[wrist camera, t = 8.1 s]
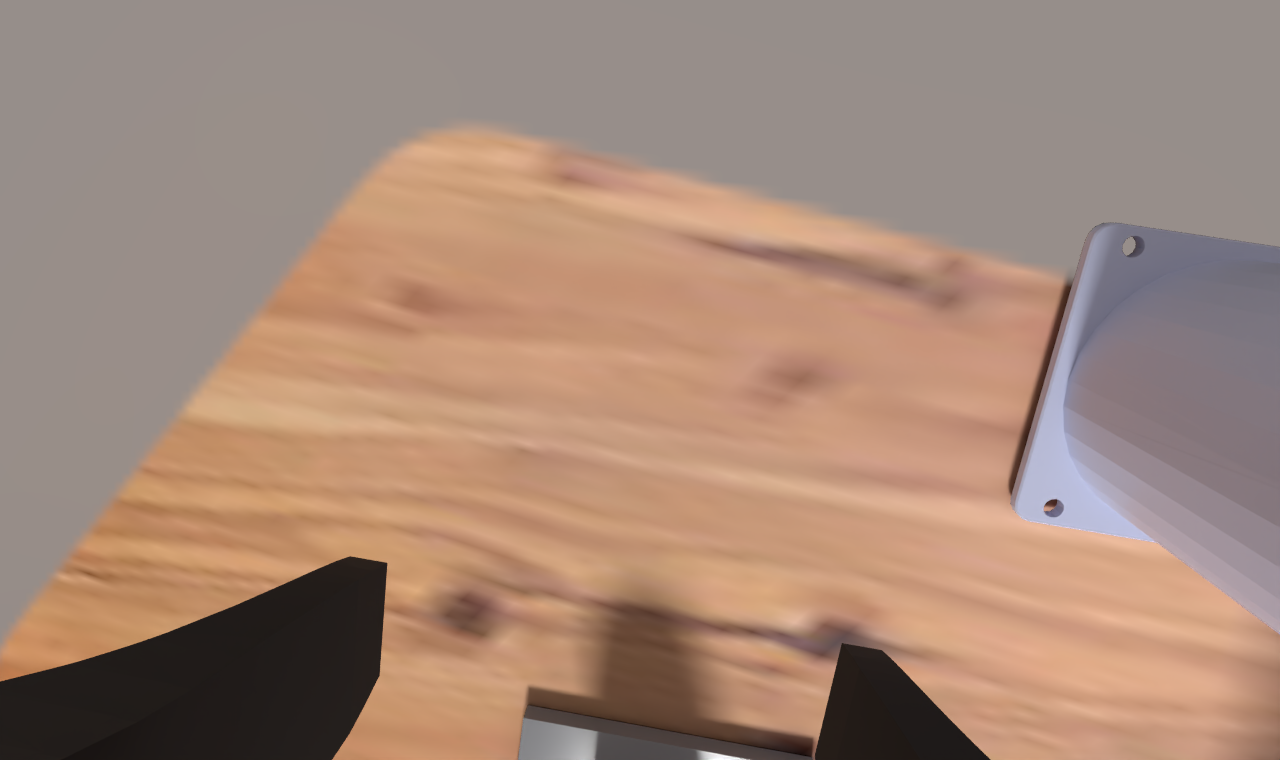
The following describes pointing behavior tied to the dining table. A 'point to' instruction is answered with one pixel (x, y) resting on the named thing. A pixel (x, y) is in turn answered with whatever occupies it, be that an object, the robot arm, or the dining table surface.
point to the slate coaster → (623, 741)
